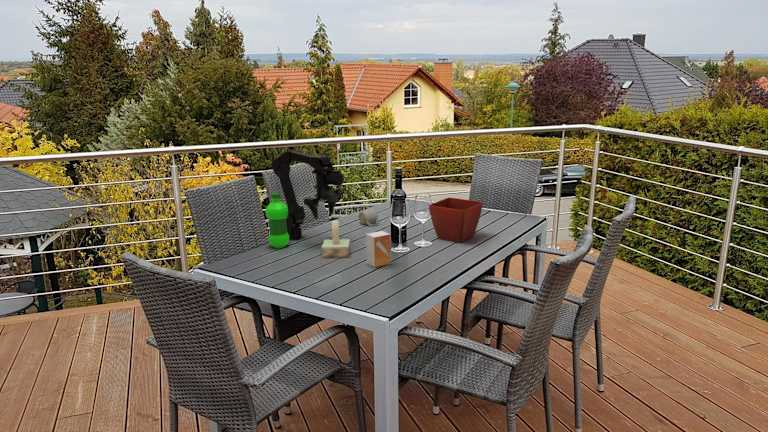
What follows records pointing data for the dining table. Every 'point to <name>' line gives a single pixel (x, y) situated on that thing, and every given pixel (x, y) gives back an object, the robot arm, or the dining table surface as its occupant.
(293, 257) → the dining table surface
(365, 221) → the ceramic mug
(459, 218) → the plant pot
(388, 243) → the small box
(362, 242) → the dining table surface
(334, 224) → the beige peg on base
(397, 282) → the dining table surface
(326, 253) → the oak box
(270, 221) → the plastic bottle
